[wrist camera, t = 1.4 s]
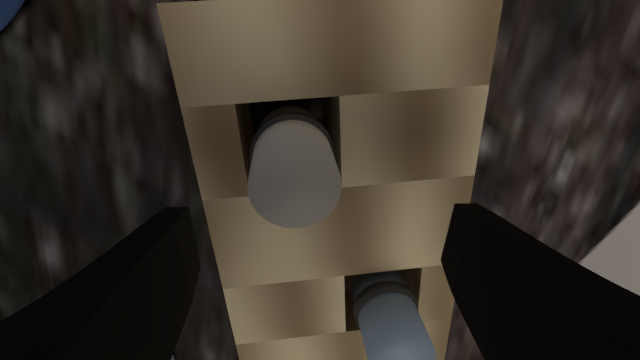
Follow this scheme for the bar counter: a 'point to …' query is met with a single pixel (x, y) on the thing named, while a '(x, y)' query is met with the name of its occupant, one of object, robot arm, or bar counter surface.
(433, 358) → the blue peg
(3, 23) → the water jug
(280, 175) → the white peg
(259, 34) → the beech block
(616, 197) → the bar counter surface
